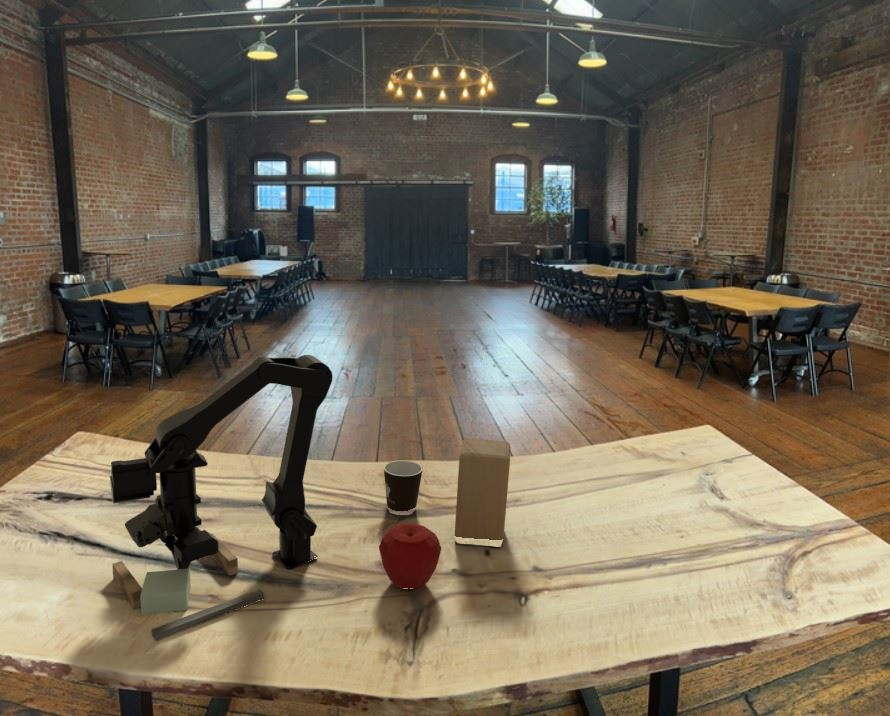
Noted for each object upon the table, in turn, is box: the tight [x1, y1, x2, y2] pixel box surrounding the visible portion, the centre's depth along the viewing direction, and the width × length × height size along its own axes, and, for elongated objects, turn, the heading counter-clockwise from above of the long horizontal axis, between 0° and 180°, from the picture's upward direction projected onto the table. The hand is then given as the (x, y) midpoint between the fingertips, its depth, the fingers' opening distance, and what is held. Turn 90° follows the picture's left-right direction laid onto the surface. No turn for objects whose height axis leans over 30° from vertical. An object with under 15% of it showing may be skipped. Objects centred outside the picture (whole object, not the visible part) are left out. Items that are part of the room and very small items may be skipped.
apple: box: [378, 522, 442, 589], centre depth 122 cm, size 11×11×12 cm
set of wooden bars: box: [111, 533, 265, 642], centre depth 118 cm, size 21×18×3 cm
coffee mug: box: [383, 459, 423, 511], centre depth 152 cm, size 12×9×10 cm
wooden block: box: [454, 437, 511, 540], centre depth 140 cm, size 10×10×20 cm
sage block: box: [140, 567, 192, 616], centre depth 114 cm, size 7×7×4 cm
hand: (182, 572), depth 119 cm, fingers closed
